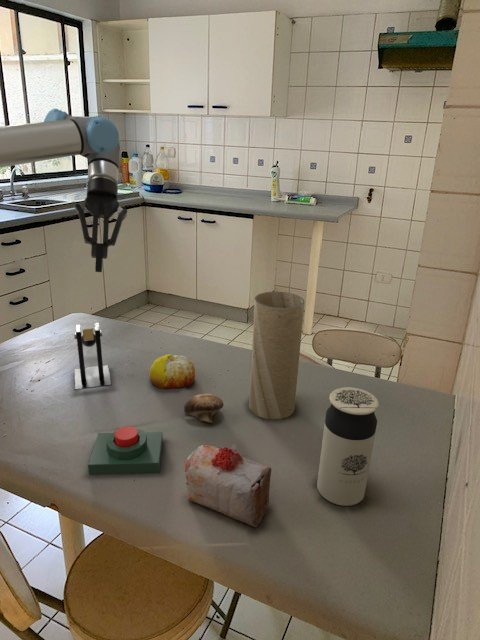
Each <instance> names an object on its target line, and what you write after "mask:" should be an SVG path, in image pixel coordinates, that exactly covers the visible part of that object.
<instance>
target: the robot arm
mask: <svg viewBox="0 0 480 640" xmlns="http://www.w3.org/2000/svg"><path fill="white" fill-rule="evenodd" d="M120 150H121V143H120V134H119V130H118V127H117V126H116V124H115V123H114V122H113V121H112V120H111V119H109V118H107V117H103V116H100V115H96V116H81V115H79V116H76V115H71V114H69V113H67V112H66V111H63V110H60V109H59V108H55V107H54V108H51V109H50V110H49V111H47V113H46V116H45V118H44V119H43V121H40V122H39V121H38V122H31V123H30V122H29V123H22V124H12V125H11V124H10V125H2V126H1V125H0V169H1V168H6V167H13V166H18V165H24V164H30V163H37V162H42V161H50V160H55V159H61V158H67V157H73V156H81V157H83V158H86V159H88V166H87V183H86V184H87V185H86V186H87V187H86V196H85V198H84V200H83V202H82V203H75V204H74V209H75V212H76V215H78V218H79V222H80V226H81V231H82V236H83V241H84V243H85V244H87V245H90V246H91V250H90V254H91V255H90V256H91V258H92V259H95V267H94V269H95V273H102V272H103V260H107V259H108V253H109V252H108V249H109V247H110V246H112V247H114V246H115V245H116V243H117V240H118V237H119V234H120V231H121V228H122V225H123V221H124V220H125V219H126V217H127V216H128V209H127V208H122V207H121V205H120V203H119V201H118V192H119V186H118V185H119V167H120V166H119V165H120V152H121V151H120ZM86 210H87V211H88V213H89V214H90V215H91V216H92V228H91V229H92V230H91V236H90V234H89V228H88V224H87V219H86V214H85V213H86ZM116 212H117V213H116ZM114 214H117V218H116V221H115V224H114V227H113V231H112V232H111V236H110V238H109V228H110V218H111V217H113V215H114ZM100 219H103V230H102V242H101V243H100V242H98V234H99V220H100Z"/></svg>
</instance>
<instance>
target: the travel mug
mask: <svg viewBox="0 0 480 640" xmlns="http://www.w3.org/2000/svg"><path fill="white" fill-rule="evenodd" d="M329 402H330V406H329V407H328V408H327V410H326V412H325V419H324V425H323V433H322V443H321V451H320V458H319V465H318V474H317V481H316V482H317V483H316V486H317V491H318V492H319V494H320V495H321V496H322V497H323V498H324V499H325V500H327V501H328V502H330V503H332V504H335V505H338V506H345V507H346V506H349V507H350V506H354V505H357V504H359V503H361V501H363V499H364V498H365V494H366V488H367V483H368V477H369V471H370V466H371V459H372V454H373V450H374V449H373V447H374V443H375V437H376V432H377V425H378V418H377V416H376V413H375V412H376V411H377V410H378V409H379V407H380V406H379V400H378V399H377V398H376V396H374V395H373V394H372V393H371V392H369V391H367V390H364V389H361V388H357V387H350V386H349V387H348V386H345V387H338V388H336V389H334V390H332V391H331V393H330V394H329Z"/></svg>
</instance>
